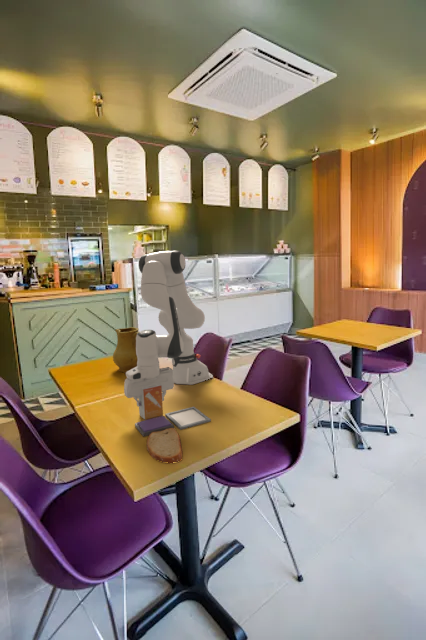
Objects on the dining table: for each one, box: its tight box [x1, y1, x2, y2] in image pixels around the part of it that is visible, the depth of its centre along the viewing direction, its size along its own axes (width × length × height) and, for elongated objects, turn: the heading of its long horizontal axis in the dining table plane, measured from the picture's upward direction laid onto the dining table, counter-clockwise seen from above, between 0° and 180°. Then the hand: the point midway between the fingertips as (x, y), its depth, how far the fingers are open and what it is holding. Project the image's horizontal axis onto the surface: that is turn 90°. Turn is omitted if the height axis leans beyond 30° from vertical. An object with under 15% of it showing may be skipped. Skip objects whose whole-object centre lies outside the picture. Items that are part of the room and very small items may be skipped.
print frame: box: [164, 406, 212, 430], centre depth 142 cm, size 13×15×1 cm
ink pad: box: [134, 415, 175, 437], centre depth 135 cm, size 12×10×2 cm
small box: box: [138, 385, 164, 421], centre depth 145 cm, size 8×6×13 cm
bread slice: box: [146, 427, 184, 464], centre depth 121 cm, size 18×18×4 cm
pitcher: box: [112, 326, 139, 373], centre depth 210 cm, size 17×19×25 cm
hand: (150, 403), depth 145 cm, fingers open, 8 cm apart
